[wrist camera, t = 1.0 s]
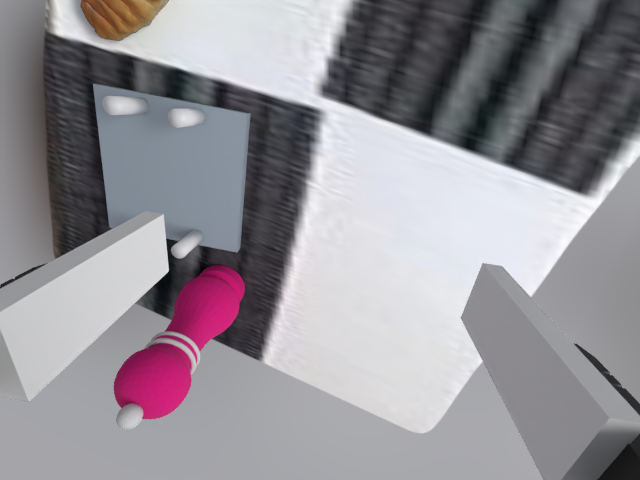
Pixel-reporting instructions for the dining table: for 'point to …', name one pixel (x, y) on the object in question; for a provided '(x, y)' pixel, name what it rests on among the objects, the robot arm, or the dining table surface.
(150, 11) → the pastry
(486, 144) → the dining table surface
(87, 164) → the dining table surface
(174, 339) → the pepper mill
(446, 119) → the dining table surface
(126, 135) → the tray
